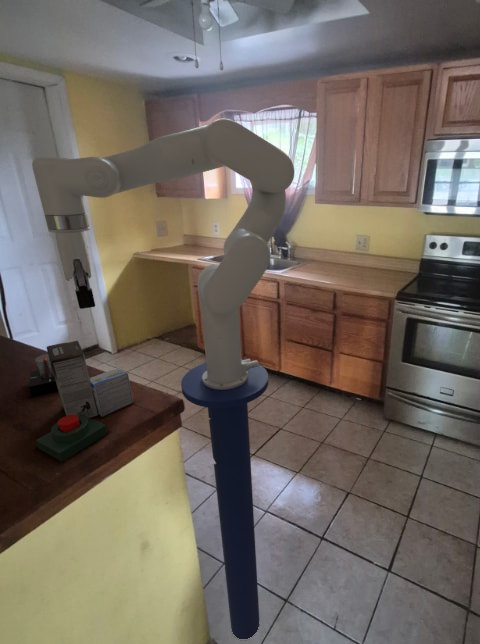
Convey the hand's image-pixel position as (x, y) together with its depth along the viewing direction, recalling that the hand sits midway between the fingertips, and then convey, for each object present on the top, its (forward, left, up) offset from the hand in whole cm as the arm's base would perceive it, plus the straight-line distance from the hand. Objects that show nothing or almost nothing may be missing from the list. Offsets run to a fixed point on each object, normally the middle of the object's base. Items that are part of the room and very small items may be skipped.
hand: (87, 306), depth 84 cm
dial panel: (+12, -14, -24) cm, 30 cm away
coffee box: (+6, +4, -24) cm, 25 cm away
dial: (+12, -14, -21) cm, 28 cm away
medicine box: (-1, +6, -24) cm, 25 cm away
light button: (+8, +15, -20) cm, 27 cm away
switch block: (+8, +15, -24) cm, 29 cm away
